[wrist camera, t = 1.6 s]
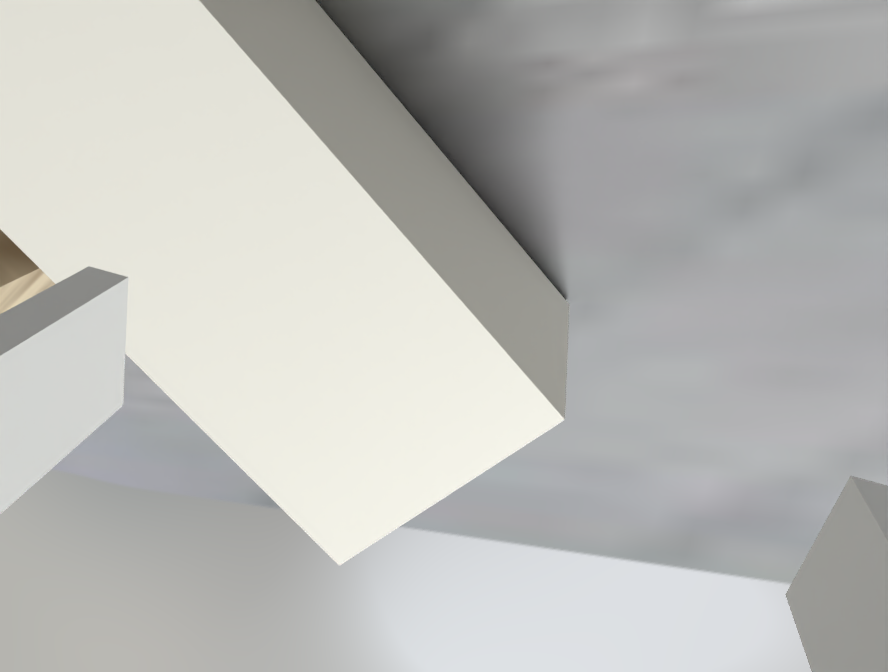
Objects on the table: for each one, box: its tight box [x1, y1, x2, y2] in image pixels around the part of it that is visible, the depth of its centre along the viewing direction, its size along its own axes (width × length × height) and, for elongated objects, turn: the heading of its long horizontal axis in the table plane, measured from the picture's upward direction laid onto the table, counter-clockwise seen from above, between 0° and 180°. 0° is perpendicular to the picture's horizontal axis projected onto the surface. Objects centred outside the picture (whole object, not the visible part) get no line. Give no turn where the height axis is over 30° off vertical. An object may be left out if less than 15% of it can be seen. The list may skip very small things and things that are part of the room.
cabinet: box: [0, 0, 569, 565], centre depth 31 cm, size 22×11×11 cm, turn 41°
